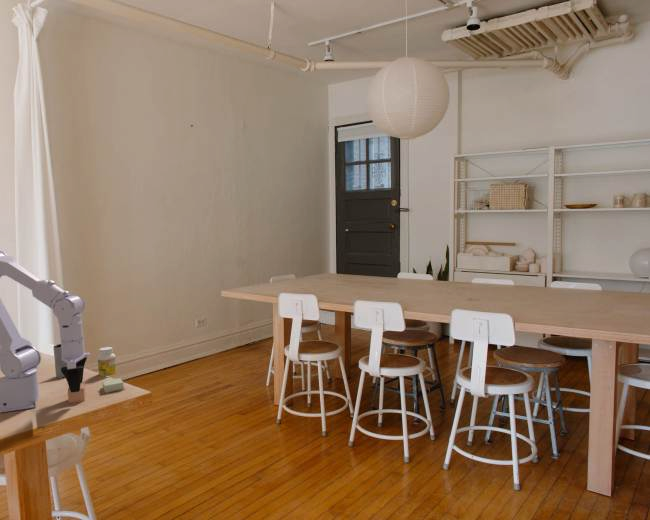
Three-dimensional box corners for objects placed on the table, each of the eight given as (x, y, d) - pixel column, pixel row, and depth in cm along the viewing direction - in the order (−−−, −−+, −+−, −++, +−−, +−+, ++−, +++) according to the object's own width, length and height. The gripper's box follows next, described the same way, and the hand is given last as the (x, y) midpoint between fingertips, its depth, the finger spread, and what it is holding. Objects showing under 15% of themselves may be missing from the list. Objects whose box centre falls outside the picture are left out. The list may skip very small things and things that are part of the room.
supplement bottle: (120, 376, 173) (118, 347, 172) (106, 381, 168) (104, 351, 168) (109, 374, 176) (107, 345, 175) (95, 378, 171) (93, 349, 170)
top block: (105, 392, 153) (104, 385, 152) (102, 387, 157) (102, 381, 157) (123, 389, 155) (123, 382, 155) (120, 384, 159) (120, 378, 159)
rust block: (69, 408, 146) (67, 390, 145) (70, 403, 149) (69, 386, 149) (85, 405, 147) (83, 388, 147) (86, 401, 151) (84, 383, 150)
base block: (103, 400, 152) (103, 393, 152) (100, 394, 157) (100, 388, 157) (125, 396, 155) (125, 389, 155) (122, 390, 160) (121, 384, 160)
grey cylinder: (67, 373, 179) (64, 343, 178) (73, 375, 176) (71, 344, 175) (53, 376, 176) (50, 346, 175) (60, 378, 173) (57, 347, 172)
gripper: (85, 343, 141) (90, 393, 142) (89, 332, 155) (94, 377, 156) (56, 346, 139) (61, 397, 140) (63, 335, 152) (67, 381, 154)
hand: (76, 387), depth 148 cm, fingers open, 7 cm apart
